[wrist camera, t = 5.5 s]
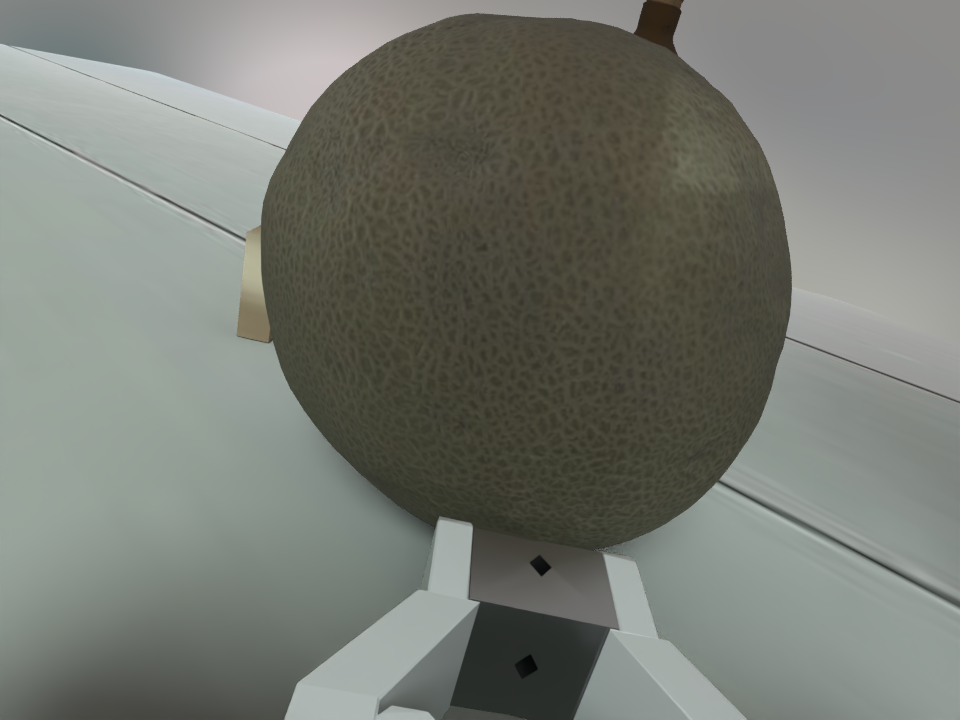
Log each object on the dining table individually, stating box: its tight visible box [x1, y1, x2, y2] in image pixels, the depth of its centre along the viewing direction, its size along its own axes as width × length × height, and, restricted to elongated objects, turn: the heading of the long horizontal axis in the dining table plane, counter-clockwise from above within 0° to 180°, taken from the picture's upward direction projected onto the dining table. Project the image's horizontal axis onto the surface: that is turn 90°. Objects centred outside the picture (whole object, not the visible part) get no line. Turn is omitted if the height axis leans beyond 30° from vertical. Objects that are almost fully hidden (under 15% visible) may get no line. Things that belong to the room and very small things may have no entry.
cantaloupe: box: [261, 13, 792, 550], centre depth 19 cm, size 14×14×15 cm
